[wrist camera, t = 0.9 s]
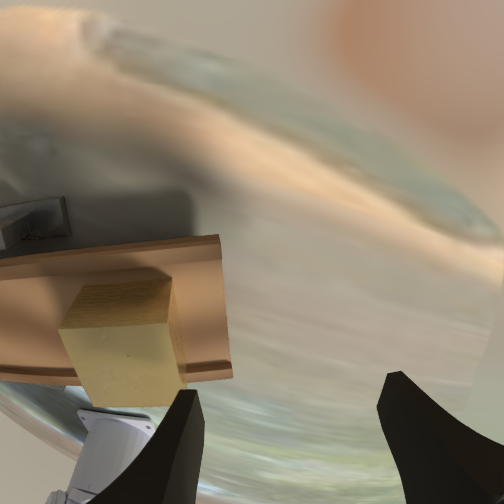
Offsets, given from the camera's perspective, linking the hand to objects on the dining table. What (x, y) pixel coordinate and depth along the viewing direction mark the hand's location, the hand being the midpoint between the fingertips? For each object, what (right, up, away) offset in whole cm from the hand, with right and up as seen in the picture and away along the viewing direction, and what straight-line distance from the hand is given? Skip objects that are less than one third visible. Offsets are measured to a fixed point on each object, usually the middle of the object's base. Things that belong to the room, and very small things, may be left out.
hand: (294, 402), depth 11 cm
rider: (-8, +2, +5) cm, 10 cm away
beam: (-17, +2, +8) cm, 19 cm away
